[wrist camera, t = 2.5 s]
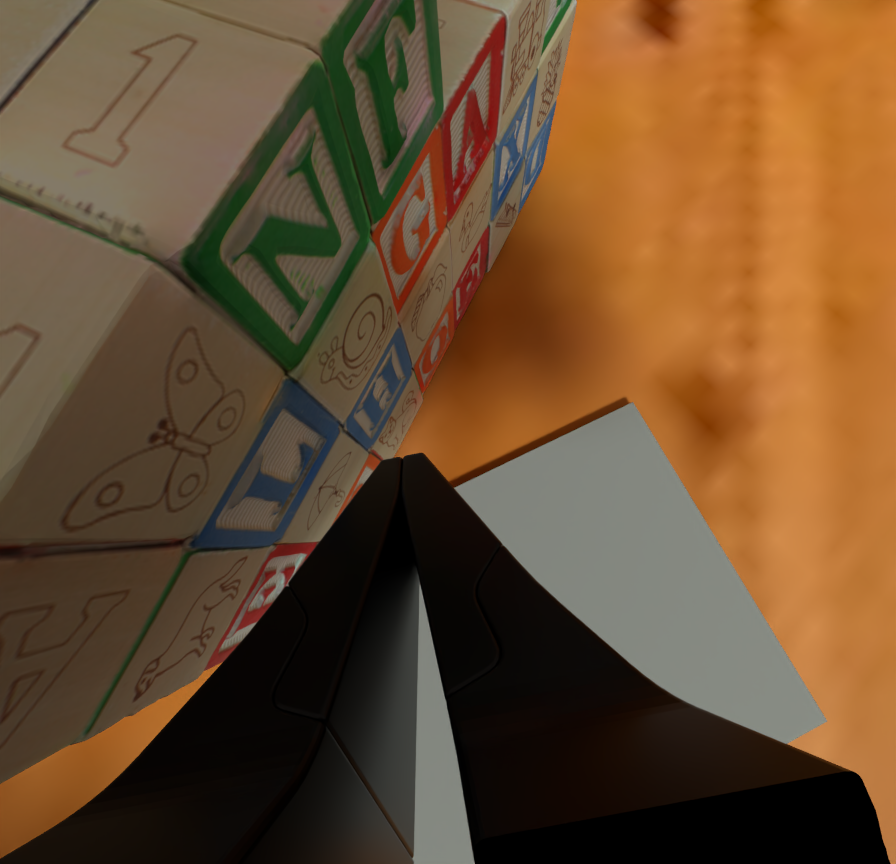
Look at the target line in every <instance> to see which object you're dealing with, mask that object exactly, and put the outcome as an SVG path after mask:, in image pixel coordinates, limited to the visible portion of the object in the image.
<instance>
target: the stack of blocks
mask: <svg viewBox="0 0 896 864" xmlns="http://www.w3.org/2000/svg"><path fill="white" fill-rule="evenodd" d="M576 4H577V2H576V0H0V784H1V783H2V782H4V781H6V780H8V779H10V778H11V777H13V776H15V775H17V774H18V773H20V772H22V771H24V770H25V769H27V768H29V767H31V766H32V765H34V764H36V763H38V762H40V761H41V760H43V759H45V758H47V757H48V756H50V755H52V754H54V753H55V752H57V751H59V750H61V749H63V748H64V747H66V746H68V745H72V744H76V743H79V742H82V741H86V740H87V739H89V738H91V737H93V736H95V735H97V734H98V733H100V732H102V731H104V730H106V729H107V728H109V727H111V726H112V725H114V724H115V723H117V722H118V721H120V720H121V719H122V718H124V717H126V716H132V715H134V714H136V713H137V712H139V711H140V710H142V709H143V708H145V707H146V706H148V705H150V704H152V703H154V702H156V701H157V700H158V699H161V698H163V697H166V696H168V695H170V694H171V693H173V692H175V691H176V690H178V689H180V688H182V687H183V686H185V685H187V684H189V683H191V682H193V681H194V680H196V679H197V678H198V677H199V676H200V675H201V674H202V672H203V671H205V670H208V669H210V668H211V667H213V666H215V665H217V664H219V663H221V662H223V661H224V660H225V659H226V658H227V657H228V656H229V655H230V654H231V652H232V651H233V650H234V649H235V648H236V647H237V646H238V644H239V643H240V642H241V641H242V640H243V639H244V637H245V636H246V635H247V634H248V633H249V632H250V630H251V629H252V628H253V627H254V625H255V624H256V623H257V622H258V620H259V619H260V618H261V617H262V615H263V614H264V613H265V612H266V610H267V609H268V608H269V607H270V605H271V604H272V603H273V602H274V600H275V599H276V598H277V596H278V595H279V594H280V592H281V591H282V590H283V588H284V587H285V586H289V585H288V582H289V581H290V580H291V578H292V577H293V576H294V574H295V573H296V572H297V570H298V569H299V568H300V566H301V565H302V564H303V563H304V561H305V560H306V559H307V557H308V556H309V555H310V553H311V552H312V551H313V549H314V548H315V547H316V545H317V544H318V543H319V542H320V540H321V539H322V538H323V536H324V535H325V534H326V532H327V531H328V530H329V528H330V527H331V526H332V525H333V523H334V522H335V521H336V519H337V518H338V517H339V515H340V514H341V513H342V511H343V510H344V509H345V507H346V506H347V505H348V504H349V502H350V501H351V500H352V498H353V497H354V496H355V494H356V493H357V492H358V490H359V489H360V488H361V487H362V485H363V484H364V483H365V481H366V480H367V479H368V477H369V476H370V475H371V473H372V472H373V471H374V470H375V468H376V467H377V466H378V464H379V463H380V462H381V461H382V460H385V459H390V458H393V457H394V455H395V454H396V452H397V450H398V448H399V447H400V445H401V443H402V441H403V439H404V437H405V435H406V433H407V431H408V429H409V427H410V425H411V424H412V422H413V420H414V418H415V416H416V414H417V412H418V410H419V408H420V406H421V404H422V402H423V394H424V391H425V390H426V388H427V387H428V386H429V383H430V381H431V379H432V377H433V375H434V373H435V370H436V369H437V367H438V366H439V364H440V362H441V360H442V358H443V356H444V354H445V352H446V350H447V348H448V346H449V345H450V343H451V341H452V339H453V337H454V332H455V329H456V328H457V326H458V324H459V322H460V321H461V319H462V317H463V315H464V313H465V311H466V310H467V308H468V306H469V304H470V302H471V300H472V298H473V296H474V294H475V292H476V290H477V288H478V286H479V284H480V283H481V281H482V279H483V276H484V274H485V273H486V272H489V271H490V269H491V267H492V265H493V263H494V261H495V260H496V258H497V256H498V254H499V252H500V250H501V248H502V246H503V245H504V243H505V241H506V239H507V237H508V235H509V233H510V231H511V229H512V227H513V226H514V223H515V221H516V219H517V216H518V214H519V212H520V210H521V208H522V207H523V205H524V203H525V201H526V199H527V197H528V195H529V193H530V191H531V189H532V187H533V185H534V184H535V182H536V179H537V177H538V176H539V174H540V172H541V170H542V167H543V164H544V160H545V155H546V150H547V144H548V139H549V135H550V131H551V125H552V120H553V116H554V112H555V106H556V98H557V96H558V94H559V89H560V84H561V80H562V75H563V70H564V65H565V61H566V56H567V51H568V46H569V41H570V36H571V31H572V26H573V22H574V17H575V11H576Z"/></svg>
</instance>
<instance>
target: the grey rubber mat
mask: <svg viewBox="0 0 896 864" xmlns="http://www.w3.org/2000/svg"><path fill="white" fill-rule="evenodd" d="M454 489H455V490H456V491H457V492H458V493H459V494H460V495H461V497H462V498H463V499H464V500H465V501H466V502H467V503H468V505H469V506H470V507H471V508H472V509H473V510H474V511H475V513H476V514H477V515H478V516H479V517H480V518H481V520H482V521H483V522H484V523H485V524H486V525H487V526H488V528H489V529H490V530H491V531H492V532H493V533H494V534H495V536H496V537H497V538H498V539H499V540H500V541H501V542H502V544H503V546H505V547H506V548H507V549H508V550H509V551H510V552H511V554H512V555H513V556H514V557H515V558H516V559H517V560H518V561H519V562H520V564H521V565H522V566H523V567H524V568H525V569H526V570H527V571H528V572H529V573H530V574H531V575H532V576H533V577H534V578H535V579H536V580H537V581H538V582H539V583H540V584H541V585H542V586H543V587H544V588H545V589H546V590H547V591H548V592H549V593H551V594H552V595H553V596H554V597H555V598H556V599H557V600H558V601H559V602H560V603H561V604H563V605H564V606H565V607H566V608H567V609H568V610H569V611H571V612H572V613H573V614H574V615H575V616H576V617H578V618H579V619H580V620H581V621H582V622H583V623H584V624H586V625H587V626H588V627H589V628H590V629H591V630H592V631H594V632H595V633H596V634H597V635H598V636H599V637H601V638H602V639H603V640H604V641H605V642H606V643H607V644H609V645H610V646H611V647H612V648H613V649H614V650H615V651H617V652H618V653H619V654H620V655H621V656H622V657H624V658H625V659H626V660H627V661H628V662H629V663H630V664H632V665H633V666H634V667H635V668H636V669H638V670H639V671H640V672H641V673H642V674H644V675H645V676H646V677H648V678H649V679H650V680H652V681H653V682H654V683H656V684H657V685H659V686H660V687H662V688H663V689H665V690H666V691H668V692H670V693H671V694H673V695H675V696H676V697H678V698H680V699H682V700H684V701H686V702H688V703H690V704H692V705H694V706H696V707H699V708H701V709H703V710H706V711H708V712H711V713H713V714H715V715H718V716H720V717H723V718H725V719H727V720H730V721H732V722H735V723H737V724H739V725H742V726H744V727H747V728H749V729H752V730H754V731H756V732H759V733H761V734H764V735H766V736H768V737H771V738H773V739H776V740H778V741H780V742H783V743H785V744H787V743H789V742H791V741H793V740H794V739H796V738H798V737H800V736H802V735H803V734H805V733H807V732H809V731H810V730H812V729H814V728H816V727H818V726H819V725H821V724H823V723H825V722H827V720H826V718H825V717H824V715H823V714H822V712H821V710H820V709H819V707H818V705H817V704H816V702H815V700H814V699H813V697H812V695H811V694H810V692H809V691H808V689H807V687H806V686H805V684H804V682H803V681H802V679H801V677H800V676H799V674H798V672H797V671H796V669H795V668H794V666H793V664H792V663H791V661H790V659H789V658H788V656H787V654H786V653H785V651H784V649H783V648H782V646H781V645H780V643H779V641H778V640H777V638H776V636H775V635H774V633H773V631H772V630H771V628H770V627H769V625H768V623H767V622H766V620H765V618H764V617H763V615H762V613H761V612H760V610H759V608H758V607H757V605H756V604H755V602H754V600H753V599H752V597H751V595H750V594H749V592H748V590H747V589H746V587H745V585H744V584H743V582H742V581H741V579H740V577H739V576H738V574H737V572H736V571H735V569H734V567H733V566H732V564H731V562H730V561H729V559H728V558H727V556H726V554H725V553H724V551H723V549H722V548H721V546H720V544H719V543H718V541H717V539H716V538H715V536H714V535H713V533H712V531H711V530H710V528H709V526H708V525H707V523H706V521H705V520H704V518H703V516H702V515H701V513H700V512H699V510H698V508H697V507H696V505H695V503H694V502H693V500H692V498H691V497H690V495H689V494H688V492H687V490H686V489H685V487H684V485H683V484H682V482H681V480H680V479H679V477H678V475H677V474H676V472H675V471H674V469H673V467H672V466H671V464H670V462H669V461H668V459H667V457H666V456H665V454H664V452H663V451H662V449H661V448H660V446H659V444H658V443H657V441H656V439H655V438H654V436H653V434H652V433H651V431H650V429H649V428H648V426H647V425H646V423H645V421H644V420H643V418H642V416H641V415H640V413H639V411H638V410H637V408H636V406H635V405H634V403H633V402H632V403H630V404H628V405H626V406H624V407H622V408H620V409H617V410H615V411H613V412H611V413H609V414H607V415H605V416H603V417H601V418H599V419H597V420H595V421H592V422H590V423H588V424H586V425H584V426H582V427H580V428H578V429H576V430H574V431H572V432H570V433H567V434H565V435H563V436H561V437H559V438H557V439H555V440H553V441H551V442H549V443H547V444H544V445H542V446H540V447H538V448H536V449H534V450H532V451H530V452H528V453H526V454H524V455H522V456H519V457H517V458H515V459H513V460H511V461H509V462H507V463H505V464H503V465H501V466H499V467H497V468H494V469H492V470H490V471H488V472H486V473H484V474H482V475H480V476H478V477H476V478H474V479H472V480H469V481H467V482H465V483H463V484H461V485H459V486H457V487H455V488H454ZM412 859H413V861H414V864H475V862H474V858H473V852H472V846H471V840H470V834H469V828H468V822H467V815H466V809H465V803H464V797H463V791H462V785H461V779H460V773H459V767H458V761H457V755H456V750H455V745H454V740H453V735H452V729H451V725H450V720H449V715H448V710H447V704H446V700H445V696H444V692H443V687H442V683H441V678H440V673H439V669H438V664H437V660H436V655H435V650H434V646H433V641H432V636H431V632H430V627H429V623H428V618H427V613H426V609H425V604H424V599H423V595H422V590H421V586H419V634H418V682H417V731H416V779H415V827H414V857H413V858H412Z"/></svg>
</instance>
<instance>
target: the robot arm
mask: <svg viewBox="0 0 896 864" xmlns="http://www.w3.org/2000/svg"><path fill="white" fill-rule="evenodd" d="M288 585H289V586H285V587H284V588H283V590H282V591H281V592H280V594H279V595H278V596H277V598H276V599H275V600H274V602H273V603H272V604H271V605H270V607H269V608H268V609H267V610H266V612H265V613H264V614H263V615H262V617H261V618H260V619H259V620H258V622H257V623H256V624H255V625H254V627H253V628H252V629H251V630H250V632H249V633H248V634H247V635H246V636H245V637H244V639H243V640H242V641H241V642H240V643H239V644H238V646H237V647H236V648H235V649H234V650H233V651H232V652H231V654H230V655H229V656H228V657H227V658H226V659H225V660H224V662H223V663H222V664H221V665H220V666H219V667H218V668H217V670H216V671H215V672H214V673H213V674H212V675H211V676H210V677H209V678H208V679H207V681H206V682H205V683H204V684H203V685H202V686H201V687H200V688H199V689H198V691H197V692H196V693H195V694H194V695H193V696H192V697H191V698H190V699H189V700H188V702H187V703H186V704H185V705H184V706H183V707H182V708H181V709H180V710H179V712H178V713H177V714H176V715H175V716H174V717H173V718H172V719H171V720H170V721H169V723H168V724H167V725H166V726H165V727H164V728H163V729H162V730H161V731H160V733H159V734H158V735H157V736H156V737H155V738H154V739H153V740H152V741H151V743H150V744H149V745H148V746H147V747H146V748H145V749H144V750H143V751H142V752H141V754H140V755H139V756H138V757H137V758H136V759H135V760H134V761H133V762H132V763H131V764H130V765H129V766H128V767H127V768H126V769H125V770H124V771H123V772H122V773H121V774H120V775H119V776H118V777H117V778H116V779H115V780H114V781H113V782H112V783H111V784H110V785H109V786H107V787H106V788H105V789H104V790H103V791H102V792H101V793H99V794H98V795H97V796H96V797H95V798H93V799H92V800H91V801H90V802H88V803H87V804H86V805H85V806H83V807H82V808H81V809H79V810H78V811H76V812H75V813H73V814H72V815H71V816H69V817H68V818H66V819H65V820H64V821H62V822H60V823H59V824H57V825H56V826H54V827H53V828H51V829H49V830H48V831H46V832H44V833H43V834H41V835H39V836H38V837H36V838H34V839H33V840H31V841H29V842H28V843H26V844H24V845H23V846H21V847H19V848H18V849H16V850H14V851H13V852H11V853H9V854H7V855H6V856H4V857H2V858H1V859H0V864H414V861H413V859H412V858H413V857H414V827H415V779H416V731H417V682H418V634H419V586H421V590H422V595H423V599H424V604H425V609H426V613H427V618H428V623H429V627H430V632H431V636H432V641H433V646H434V650H435V655H436V660H437V664H438V669H439V673H440V678H441V683H442V687H443V692H444V696H445V700H446V704H447V710H448V715H449V720H450V725H451V729H452V735H453V740H454V745H455V750H456V755H457V761H458V767H459V773H460V779H461V785H462V791H463V797H464V803H465V809H466V815H467V822H468V828H469V834H470V840H471V846H472V852H473V858H474V862H475V864H890V861H889V859H888V855H887V851H886V848H885V845H884V843H883V839H882V835H881V831H880V826H879V821H878V818H877V814H876V810H875V808H874V806H873V803H872V801H871V799H870V797H869V794H868V792H867V790H866V787H865V785H864V783H863V781H862V779H861V777H860V776H859V775H858V774H857V773H855V772H853V771H850V770H848V769H845V768H843V767H841V766H838V765H836V764H833V763H831V762H829V761H826V760H824V759H821V758H819V757H817V756H814V755H812V754H809V753H807V752H804V751H802V750H800V749H797V748H795V747H792V746H790V745H788V744H785V743H783V742H780V741H778V740H776V739H773V738H771V737H768V736H766V735H764V734H761V733H759V732H756V731H754V730H752V729H749V728H747V727H744V726H742V725H739V724H737V723H735V722H732V721H730V720H727V719H725V718H723V717H720V716H718V715H715V714H713V713H711V712H708V711H706V710H703V709H701V708H699V707H696V706H694V705H692V704H690V703H688V702H686V701H684V700H682V699H680V698H678V697H676V696H675V695H673V694H671V693H670V692H668V691H666V690H665V689H663V688H662V687H660V686H659V685H657V684H656V683H654V682H653V681H652V680H650V679H649V678H648V677H646V676H645V675H644V674H642V673H641V672H640V671H639V670H638V669H636V668H635V667H634V666H633V665H632V664H630V663H629V662H628V661H627V660H626V659H625V658H624V657H622V656H621V655H620V654H619V653H618V652H617V651H615V650H614V649H613V648H612V647H611V646H610V645H609V644H607V643H606V642H605V641H604V640H603V639H602V638H601V637H599V636H598V635H597V634H596V633H595V632H594V631H592V630H591V629H590V628H589V627H588V626H587V625H586V624H584V623H583V622H582V621H581V620H580V619H579V618H578V617H576V616H575V615H574V614H573V613H572V612H571V611H569V610H568V609H567V608H566V607H565V606H564V605H563V604H561V603H560V602H559V601H558V600H557V599H556V598H555V597H554V596H553V595H552V594H551V593H549V592H548V591H547V590H546V589H545V588H544V587H543V586H542V585H541V584H540V583H539V582H538V581H537V580H536V579H535V578H534V577H533V576H532V575H531V574H530V573H529V572H528V571H527V570H526V569H525V568H524V567H523V566H522V565H521V564H520V562H519V561H518V560H517V559H516V558H515V557H514V556H513V555H512V554H511V552H510V551H509V550H508V549H507V548H506V547H505V546H503V544H502V542H501V541H500V540H499V539H498V538H497V537H496V536H495V534H494V533H493V532H492V531H491V530H490V529H489V528H488V526H487V525H486V524H485V523H484V522H483V521H482V520H481V518H480V517H479V516H478V515H477V514H476V513H475V511H474V510H473V509H472V508H471V507H470V506H469V505H468V503H467V502H466V501H465V500H464V499H463V498H462V497H461V495H460V494H459V493H458V492H457V491H456V490H455V489H454V487H453V486H452V485H451V484H450V483H449V482H448V481H447V479H446V478H445V477H444V476H443V475H442V474H441V473H440V471H439V470H438V469H437V468H436V467H435V466H434V465H433V463H432V462H431V461H430V460H429V459H428V458H427V457H426V455H425V454H423V453H417V454H412V455H407V456H405V457H403V459H402V458H401V457H396V458H390V459H385V460H382V461H381V462H380V463H379V464H378V466H377V467H376V468H375V470H374V471H373V472H372V473H371V475H370V476H369V477H368V479H367V480H366V481H365V483H364V484H363V485H362V487H361V488H360V489H359V490H358V492H357V493H356V494H355V496H354V497H353V498H352V500H351V501H350V502H349V504H348V505H347V506H346V507H345V509H344V510H343V511H342V513H341V514H340V515H339V517H338V518H337V519H336V521H335V522H334V523H333V525H332V526H331V527H330V528H329V530H328V531H327V532H326V534H325V535H324V536H323V538H322V539H321V540H320V542H319V543H318V544H317V545H316V547H315V548H314V549H313V551H312V552H311V553H310V555H309V556H308V557H307V559H306V560H305V561H304V563H303V564H302V565H301V566H300V568H299V569H298V570H297V572H296V573H295V574H294V576H293V577H292V578H291V580H290V581H289V582H288Z"/></svg>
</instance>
